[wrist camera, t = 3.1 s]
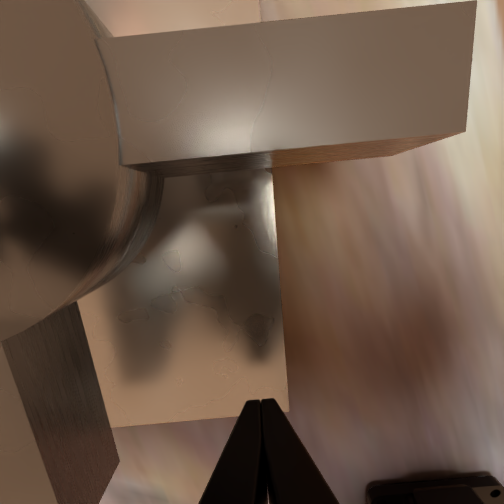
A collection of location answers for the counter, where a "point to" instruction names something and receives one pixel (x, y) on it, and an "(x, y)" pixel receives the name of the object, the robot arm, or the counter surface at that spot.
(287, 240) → the counter surface
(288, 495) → the robot arm
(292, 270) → the counter surface
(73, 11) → the capstan
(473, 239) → the counter surface
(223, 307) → the stand
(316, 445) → the counter surface
